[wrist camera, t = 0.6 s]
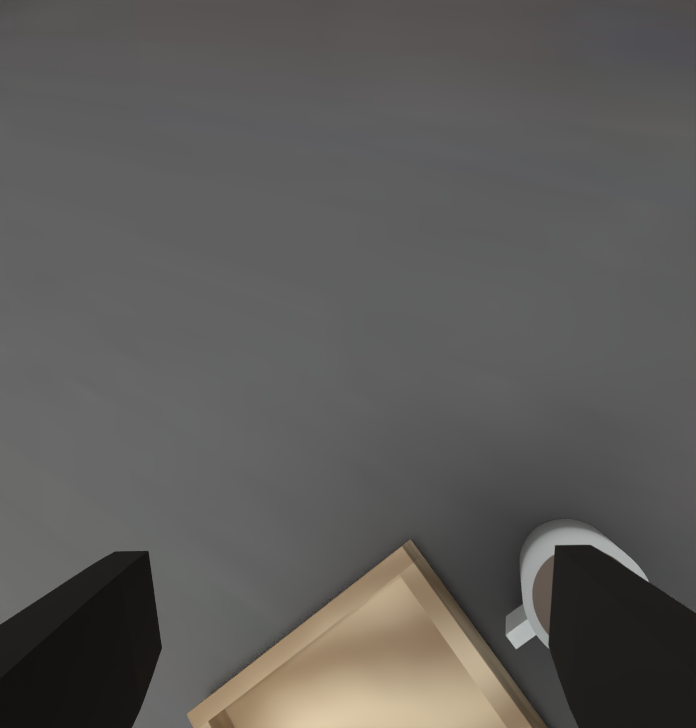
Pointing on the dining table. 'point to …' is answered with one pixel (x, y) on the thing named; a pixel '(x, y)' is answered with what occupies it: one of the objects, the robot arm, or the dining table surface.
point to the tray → (376, 664)
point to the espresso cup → (551, 574)
